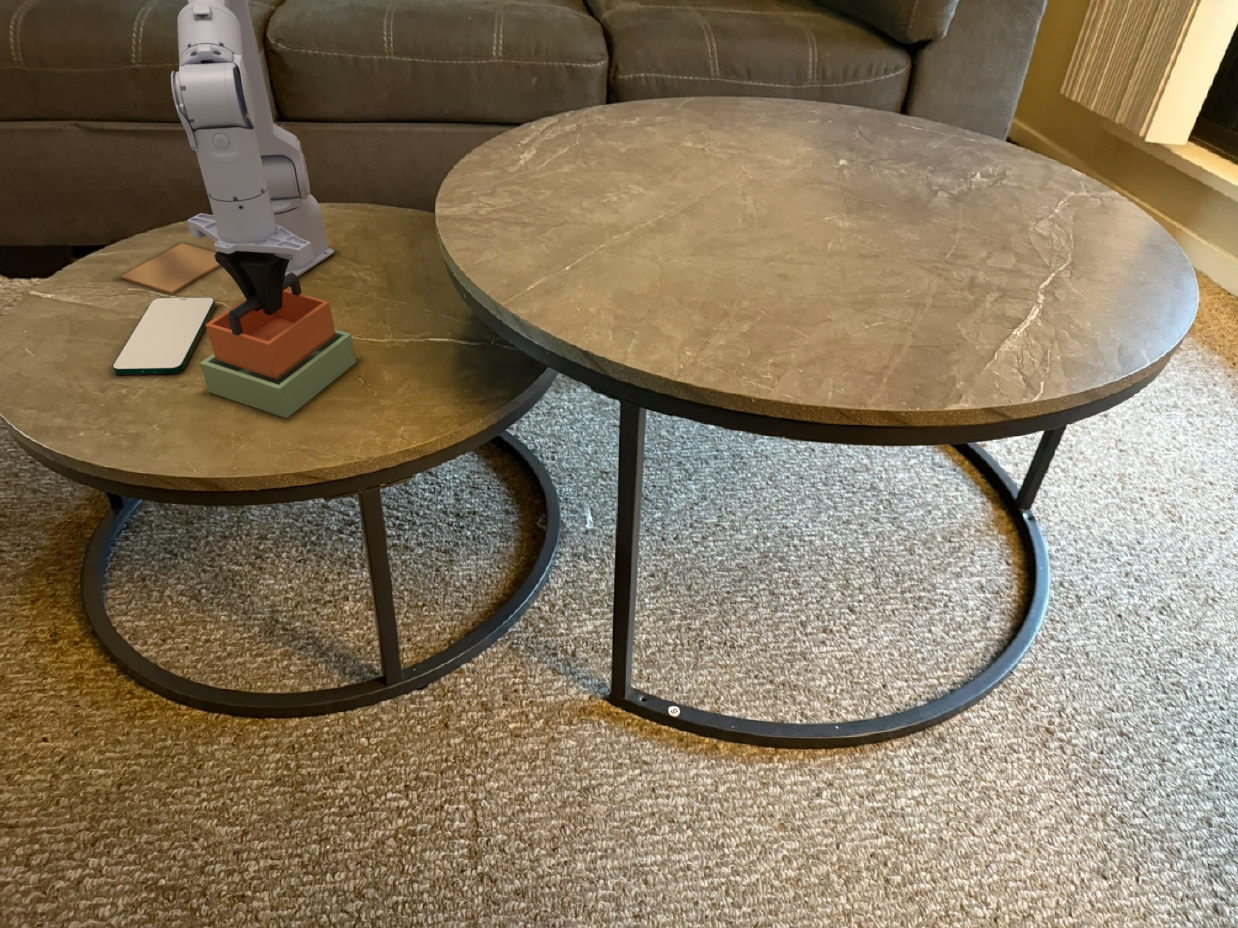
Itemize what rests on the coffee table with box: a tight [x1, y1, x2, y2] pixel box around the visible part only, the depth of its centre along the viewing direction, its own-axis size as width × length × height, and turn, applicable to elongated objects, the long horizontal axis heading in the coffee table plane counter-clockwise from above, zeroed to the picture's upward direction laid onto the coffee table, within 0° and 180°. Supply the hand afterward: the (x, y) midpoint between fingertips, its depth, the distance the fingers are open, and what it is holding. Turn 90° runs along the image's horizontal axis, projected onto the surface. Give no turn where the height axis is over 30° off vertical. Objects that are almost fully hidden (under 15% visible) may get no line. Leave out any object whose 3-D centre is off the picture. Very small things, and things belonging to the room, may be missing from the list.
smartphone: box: [112, 296, 217, 375], centre depth 111 cm, size 8×1×16 cm
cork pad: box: [120, 242, 222, 295], centre depth 124 cm, size 11×9×1 cm
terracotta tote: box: [205, 272, 336, 379], centre depth 101 cm, size 10×9×7 cm
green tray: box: [199, 328, 357, 419], centre depth 104 cm, size 12×11×4 cm
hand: (267, 308), depth 100 cm, fingers closed on terracotta tote
